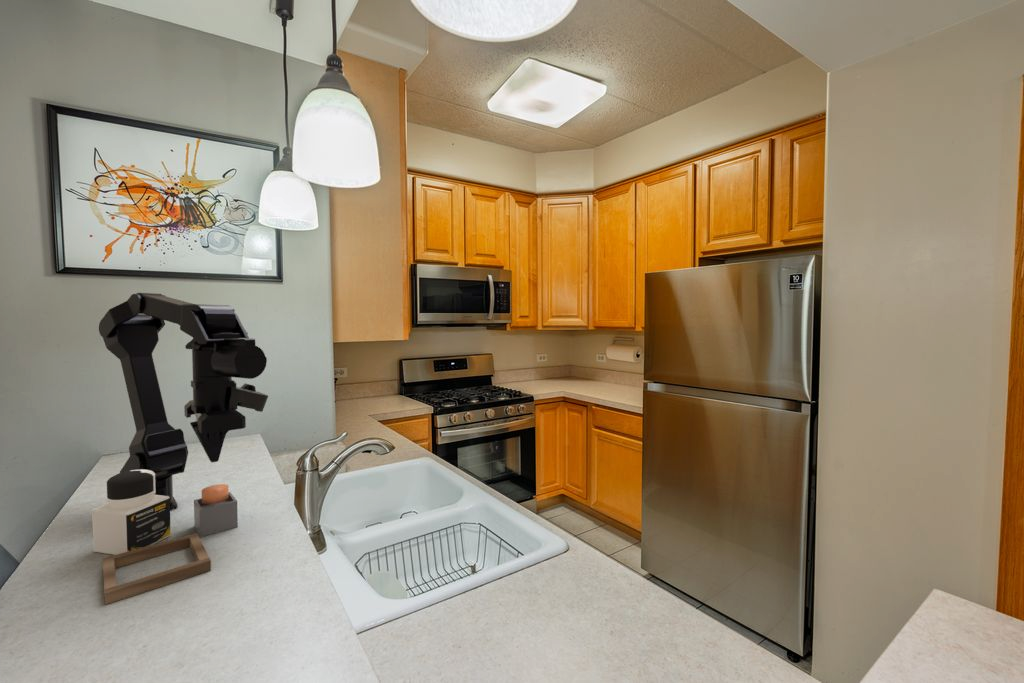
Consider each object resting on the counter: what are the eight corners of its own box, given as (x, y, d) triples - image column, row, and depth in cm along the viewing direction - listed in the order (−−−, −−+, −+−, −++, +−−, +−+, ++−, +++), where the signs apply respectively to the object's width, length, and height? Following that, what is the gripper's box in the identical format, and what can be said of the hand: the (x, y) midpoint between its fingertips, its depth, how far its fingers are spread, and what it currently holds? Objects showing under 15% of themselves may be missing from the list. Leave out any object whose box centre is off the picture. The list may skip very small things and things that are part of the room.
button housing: (194, 526, 79) (193, 500, 79) (230, 516, 83) (230, 491, 83) (200, 537, 75) (199, 509, 75) (237, 526, 79) (237, 500, 79)
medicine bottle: (128, 557, 69) (125, 482, 68) (92, 552, 70) (89, 479, 69) (171, 536, 76) (170, 467, 75) (138, 531, 77) (136, 464, 76)
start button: (200, 499, 79) (199, 488, 79) (226, 493, 82) (225, 482, 82) (204, 505, 76) (203, 494, 76) (230, 499, 79) (230, 488, 79)
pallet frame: (103, 568, 66) (102, 558, 66) (197, 541, 74) (197, 532, 74) (105, 604, 57) (104, 593, 57) (210, 570, 65) (210, 560, 65)
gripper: (278, 376, 77) (279, 464, 77) (250, 367, 90) (251, 442, 91) (201, 382, 69) (203, 479, 70) (183, 371, 82) (185, 453, 83)
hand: (214, 461), depth 78 cm, fingers closed
